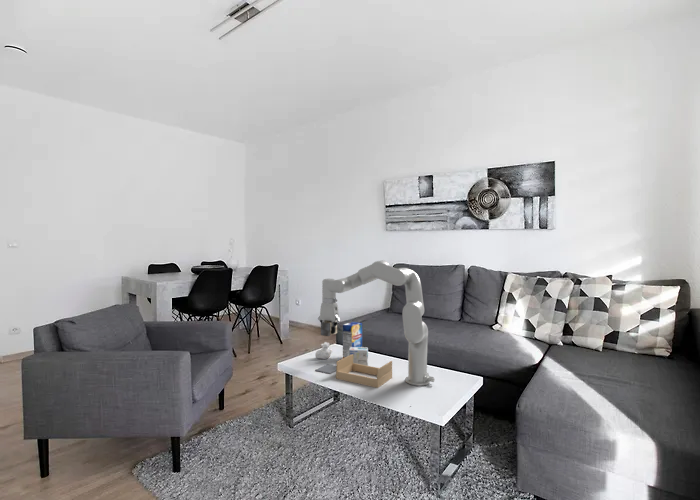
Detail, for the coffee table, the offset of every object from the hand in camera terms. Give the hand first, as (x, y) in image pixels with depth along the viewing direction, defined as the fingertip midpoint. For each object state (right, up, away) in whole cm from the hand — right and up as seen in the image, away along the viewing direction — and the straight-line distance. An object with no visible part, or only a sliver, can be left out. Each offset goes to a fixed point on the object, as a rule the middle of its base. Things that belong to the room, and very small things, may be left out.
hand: (329, 332), depth 224 cm
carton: (+19, -22, -13) cm, 32 cm away
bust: (-4, -21, +22) cm, 30 cm away
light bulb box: (+17, -21, +6) cm, 28 cm away
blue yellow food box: (+13, -21, +19) cm, 31 cm away
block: (0, -1, 0) cm, 1 cm away
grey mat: (0, -21, +1) cm, 21 cm away
